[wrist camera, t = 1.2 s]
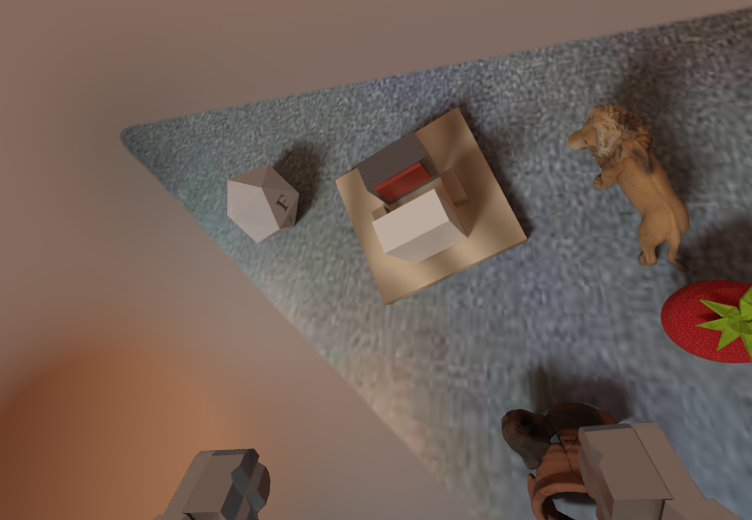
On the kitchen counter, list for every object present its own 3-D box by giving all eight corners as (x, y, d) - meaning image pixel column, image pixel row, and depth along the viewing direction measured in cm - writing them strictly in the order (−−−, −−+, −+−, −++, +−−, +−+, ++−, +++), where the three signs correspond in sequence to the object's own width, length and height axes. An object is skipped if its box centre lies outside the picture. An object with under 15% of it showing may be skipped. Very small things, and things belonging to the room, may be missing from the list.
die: (279, 259, 51) (279, 236, 42) (217, 229, 50) (204, 199, 41) (307, 208, 53) (313, 176, 44) (249, 178, 52) (243, 140, 43)
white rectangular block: (455, 212, 40) (434, 188, 31) (467, 238, 39) (449, 220, 31) (404, 238, 42) (371, 222, 33) (415, 263, 41) (384, 253, 33)
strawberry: (643, 281, 34) (682, 272, 25) (753, 286, 31) (842, 279, 22) (642, 348, 34) (681, 364, 25) (753, 360, 31) (845, 383, 22)
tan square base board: (460, 112, 43) (453, 97, 39) (527, 241, 38) (526, 235, 35) (340, 184, 47) (326, 175, 44) (389, 304, 43) (377, 304, 40)
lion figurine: (555, 161, 38) (560, 121, 30) (606, 126, 37) (626, 75, 29) (656, 286, 34) (695, 280, 26) (719, 253, 33) (781, 236, 24)
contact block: (429, 153, 42) (412, 130, 36) (441, 180, 41) (427, 160, 35) (378, 182, 44) (356, 165, 38) (390, 208, 43) (368, 194, 37)
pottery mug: (656, 431, 33) (686, 526, 26) (587, 483, 38) (597, 574, 31) (527, 360, 35) (524, 432, 28) (477, 419, 40) (464, 492, 33)
